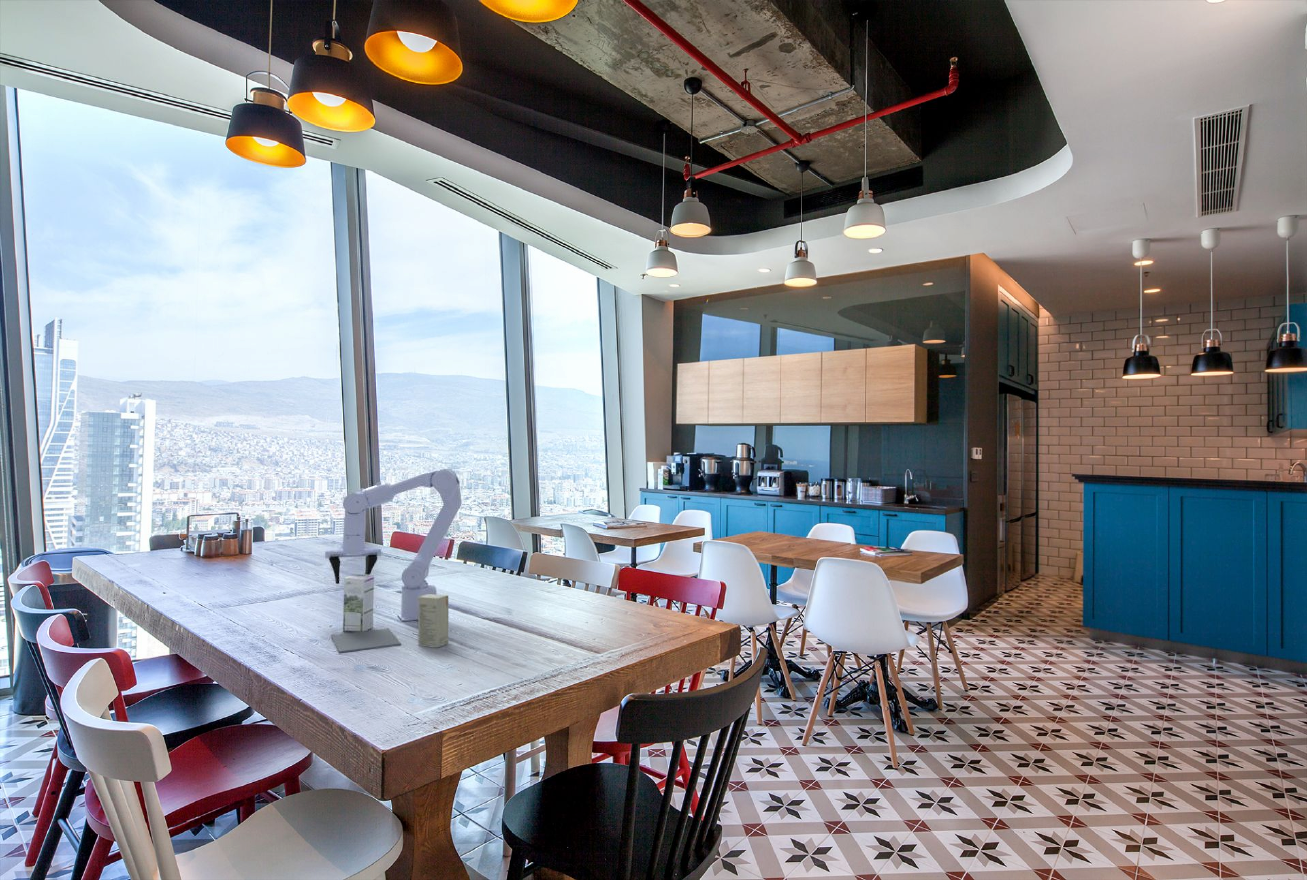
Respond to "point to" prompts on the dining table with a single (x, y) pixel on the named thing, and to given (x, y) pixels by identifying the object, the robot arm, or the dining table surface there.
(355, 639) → the grey mat
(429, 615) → the skincare box
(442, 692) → the dining table surface
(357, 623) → the syrup box
